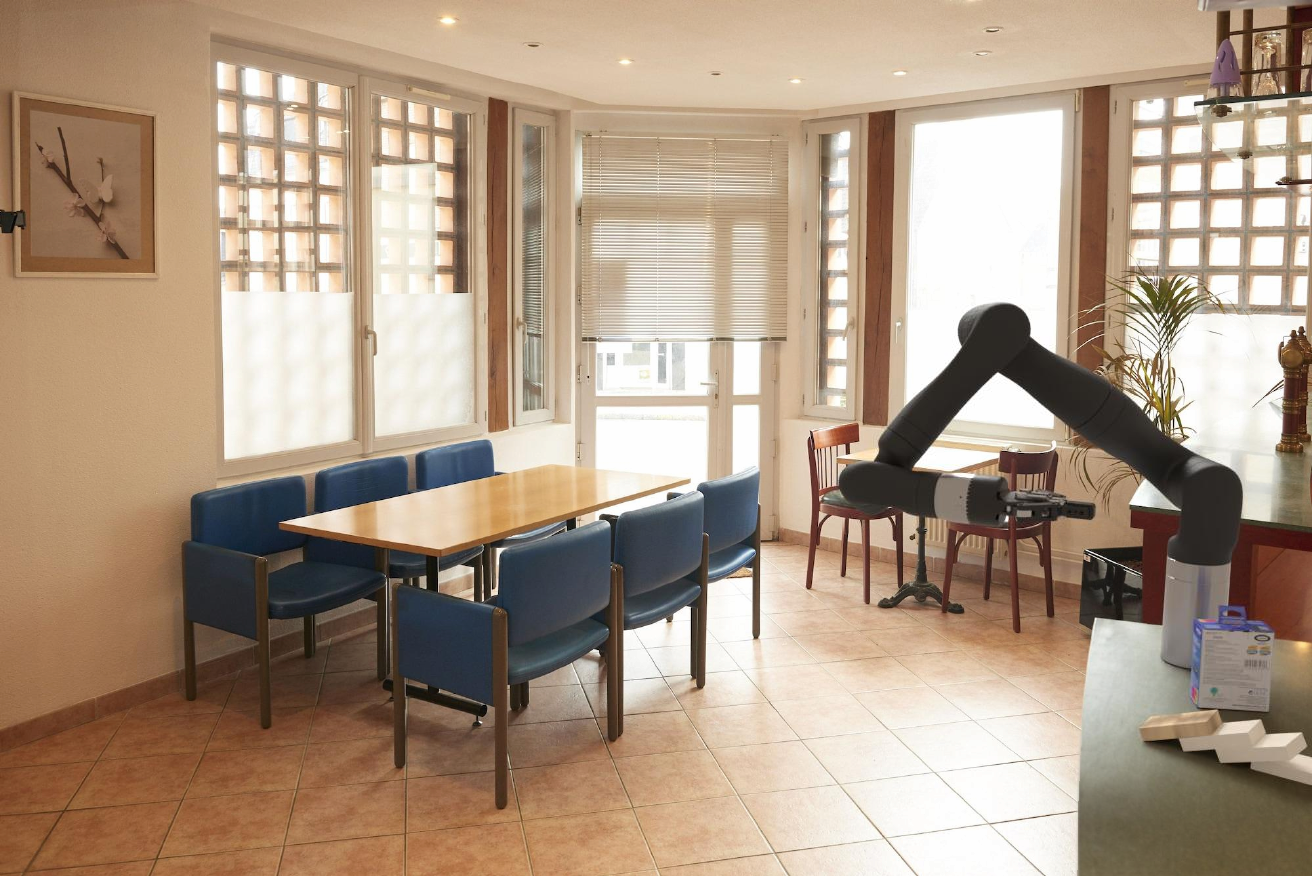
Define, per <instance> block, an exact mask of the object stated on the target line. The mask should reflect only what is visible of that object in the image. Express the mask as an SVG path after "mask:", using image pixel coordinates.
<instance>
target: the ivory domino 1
mask: <svg viewBox="0 0 1312 876" xmlns="http://www.w3.org/2000/svg"><path fill="white" fill-rule="evenodd" d="M1264 734H1267V733H1266V730H1265V727H1264V724H1263V721H1262V719H1253V720H1252V719H1251V720H1242V721H1231V722H1229V721H1228V722H1222V723H1221V724H1220V726H1219V727H1218V728H1217V729H1216V730H1215V732H1214V733H1213V734H1212V735H1207V736H1196V737H1185V738H1178V740H1179V742H1180V745H1181V748H1182V751H1183V752H1192V751H1193V752H1194V751H1195V752H1196V751H1197V752H1198V751H1208V750H1215V749H1223V748H1236V747H1249V746H1254V745H1255V744H1256V743H1257V742H1258V740H1259V739H1260V738H1261V737H1262V736H1263V735H1264Z"/></svg>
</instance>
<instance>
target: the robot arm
mask: <svg viewBox="0 0 1312 876" xmlns="http://www.w3.org/2000/svg"><path fill="white" fill-rule="evenodd" d="M1031 331H1032V327H1031V322H1030V318H1029V316H1028V315H1027V313H1026V312H1025V311H1024V310H1023V309H1022V308H1021V307H1020V306H1018V305H1016V304H1015V303H1014V304H1013V303H1012V302H1011V303H1009V302H1004V301H1002V302H1001V301H999V302H998V301H997V302H991V303H989V302H988V303H984V304H980V305H976V306H975V307H973V308H971V309H969V310H967V312H965V313H963V315H962V316H961V318H960V320H959V322H958V325H957V338H958V341H959V344H960V346H961V347H960V349H959V350H958V352H957V353H956V354H955V355H954V357H953V358H952V360H951V361H950V362H949V363H948V365H946V366H945V368H944V369H943V370H942V371H941V372H940V373H939V374H938V375H937V376H936V377H935V378H933V380H932V381H930V382H929V383H928V384H927V385H926V386H925V387H924V388H923V389H922V390H920V391H919V392H918V393H917V394H916V395H914V397H913V398H911V400H910V401H908V403H907V404H906V405H904V407H903V408H902V409H901V411H899V413H897V415H896V416H895V418H894V419H893V420H892V421H891V423H890V424H889V425H888V426H887V427H886V428H885V430H884V431H883V433H882V434H881V435H880V437H879V438H878V441H877V446H878V453H877V455H876V456H875V458H874V460H857V461H854V462H852V463H849V464H848V465H847V466H845V467H844V468H843V469H842V471H841V472H840V474H839V476H838V482H837V483H838V490H839V492H840V493H841V495H842V497H843V498H844V499H845V500H846V501H847V502H848V503H849V504H850V505H851V506H853V508H854V509H856V510H857V511H859V512H860V513H861V514H864V515H866V516H876V515H879V514H881V513H883V512H885V511H886V510H887V509H889V508H892V509H897V510H900V511H902V512H903V513H905V514H907V515H910V516H913V517H919V518H928V519H937V520H938V519H939V520H942V521H948V522H951V523H957V524H965V525H966V524H967V525H974V526H982V527H983V526H985V527H992V528H1000V527H1002V526H1003V524H1004V523H1005V522H1006V519H1007V517H1013V519H1014V521H1016V522H1017V523H1019V524H1020V523H1021V524H1022V523H1037V522H1038V523H1039V522H1040V523H1041V522H1057V521H1058V520H1063V519H1065V518H1067V519H1077V520H1086V521H1092V520H1093V519H1094V518H1095V517H1096V513H1097V512H1096V511H1097V510H1096V509H1097V505H1096V503H1095V502H1088V501H1078V500H1069V499H1068V498H1067V496H1066V495H1064V494H1061V493H1058V492H1053V491H1050V490H1046V489H1042V488H1035V491H1034V490H1032V489H1030V488H1019V491H1017V490H1016V491H1015V490H1014V491H1012V490H1010V488H1009V482H1008V480H1007V479H1006V477H1004V476H998V475H988V474H977V473H966V472H936V471H927V470H923V471H922V470H914V467H915V465H916V464H917V463H918V462H919V461H920V460H921V458H922V457H923V456H924V455H925V454H926V452H927V451H928V450H929V449H930V448H931V446H932V445H933V444H934V443H935V441H936V440H937V439H938V437H940V435H941V434H942V433H943V432H944V430H945V429H946V428H947V427H948V426H949V424H950V423H951V422H952V421H953V419H954V418H955V417H956V416H957V415H958V413H960V411H961V410H962V409H963V408H964V407H965V405H967V404H968V402H969V401H970V400H971V399H973V397H974V396H975V395H977V393H978V392H979V391H980V390H981V389H982V388H983V387H984V386H985V385H986V384H987V383H988V382H989V381H990V380H992V378H994V377H995V375H996V374H997V373H998V374H1000V375H1002V377H1004V378H1006V379H1008V380H1009V381H1011V382H1012V383H1014V384H1016V385H1017V386H1018V387H1020V388H1021V389H1022V390H1024V391H1025V392H1026V393H1027V394H1029V396H1031V397H1032V399H1034V400H1035V401H1037V402H1038V403H1039V404H1040V405H1041V406H1043V407H1044V408H1045V409H1046V410H1047V411H1049V413H1051V414H1052V415H1054V416H1055V417H1056V418H1058V419H1059V420H1060V421H1061V422H1062V423H1064V424H1065V425H1066V426H1068V428H1070V429H1071V430H1073V431H1074V432H1075V433H1077V434H1078V435H1080V436H1081V437H1082V438H1083V439H1085V440H1086V441H1087V442H1089V443H1091V444H1092V445H1094V446H1095V447H1097V448H1099V449H1100V450H1101V451H1103V452H1104V453H1106V454H1108V455H1110V456H1111V457H1113V458H1114V459H1117V460H1118V461H1121V462H1122V463H1124V464H1126V465H1128V466H1130V467H1131V468H1132V469H1134V470H1135V471H1136V472H1137V473H1138V474H1140V475H1141V477H1143V478H1145V480H1146V481H1148V482H1149V483H1150V484H1151V485H1152V486H1154V488H1155V489H1156V490H1157V491H1158V492H1159V493H1161V495H1163V496H1164V498H1166V500H1168V501H1169V502H1170V503H1171V504H1172V505H1173V506H1174V507H1175V508H1177V509H1178V510H1180V515H1179V516H1180V518H1179V526H1178V532H1177V534H1175V535H1172V536H1171V537H1169V539H1168V541H1167V549H1166V550H1167V551H1166V567H1165V581H1164V582H1165V583H1164V597H1163V599H1164V601H1163V612H1162V613H1163V615H1162V629H1161V630H1162V631H1161V644H1160V645H1161V646H1160V657H1161V660H1164V661H1165V662H1166V663H1169V664H1171V665H1174V666H1177V667H1180V668H1186V669H1192V648H1193V623H1194V619H1212V620H1219V618H1218V615H1219V614H1218V605H1223V606H1229V595H1230V594H1229V593H1230V581H1231V579H1230V578H1231V565H1232V555H1233V551H1234V550H1235V548H1236V546H1237V544H1238V541H1239V536H1240V529H1241V521H1242V520H1241V519H1242V513H1243V512H1242V511H1243V503H1244V502H1243V501H1244V491H1243V490H1244V489H1243V484H1242V481H1241V478H1240V477H1239V474H1237V473H1236V471H1234V470H1233V469H1232V468H1231V467H1229V466H1227V465H1225V464H1222V463H1219V462H1217V461H1215V460H1213V459H1210V458H1207V457H1205V456H1203V455H1200V454H1198V453H1196V452H1194V451H1193V450H1190V449H1189V448H1187V447H1185V446H1184V445H1182V444H1181V443H1179V442H1177V441H1176V440H1174V439H1173V438H1171V437H1169V435H1167V434H1166V433H1164V432H1163V431H1162V430H1161V429H1160V428H1159V427H1158V426H1157V425H1156V424H1155V423H1154V422H1153V421H1152V419H1151V418H1150V417H1149V416H1148V415H1147V413H1146V412H1145V410H1144V409H1142V407H1140V405H1138V404H1137V402H1135V401H1134V400H1133V399H1132V398H1131V397H1130V396H1129V395H1127V394H1126V393H1125V392H1124V391H1122V390H1121V389H1120V388H1118V387H1117V386H1116V385H1114V384H1113V383H1111V382H1110V381H1109V380H1107V379H1106V378H1104V377H1103V376H1101V375H1099V374H1097V372H1094V371H1092V370H1090V369H1088V368H1087V367H1084V366H1082V365H1080V364H1078V363H1076V362H1074V361H1071V360H1070V359H1067V358H1065V357H1063V356H1060V355H1059V354H1057V353H1054V352H1053V351H1050V350H1049V349H1048V348H1046V347H1044V346H1043V345H1041V344H1040V343H1039V342H1038V341H1037V340H1035V339H1034V338H1033V337H1032V336H1031V334H1032V332H1031ZM1223 615H1224V616H1228V611H1225V612H1223Z"/></svg>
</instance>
